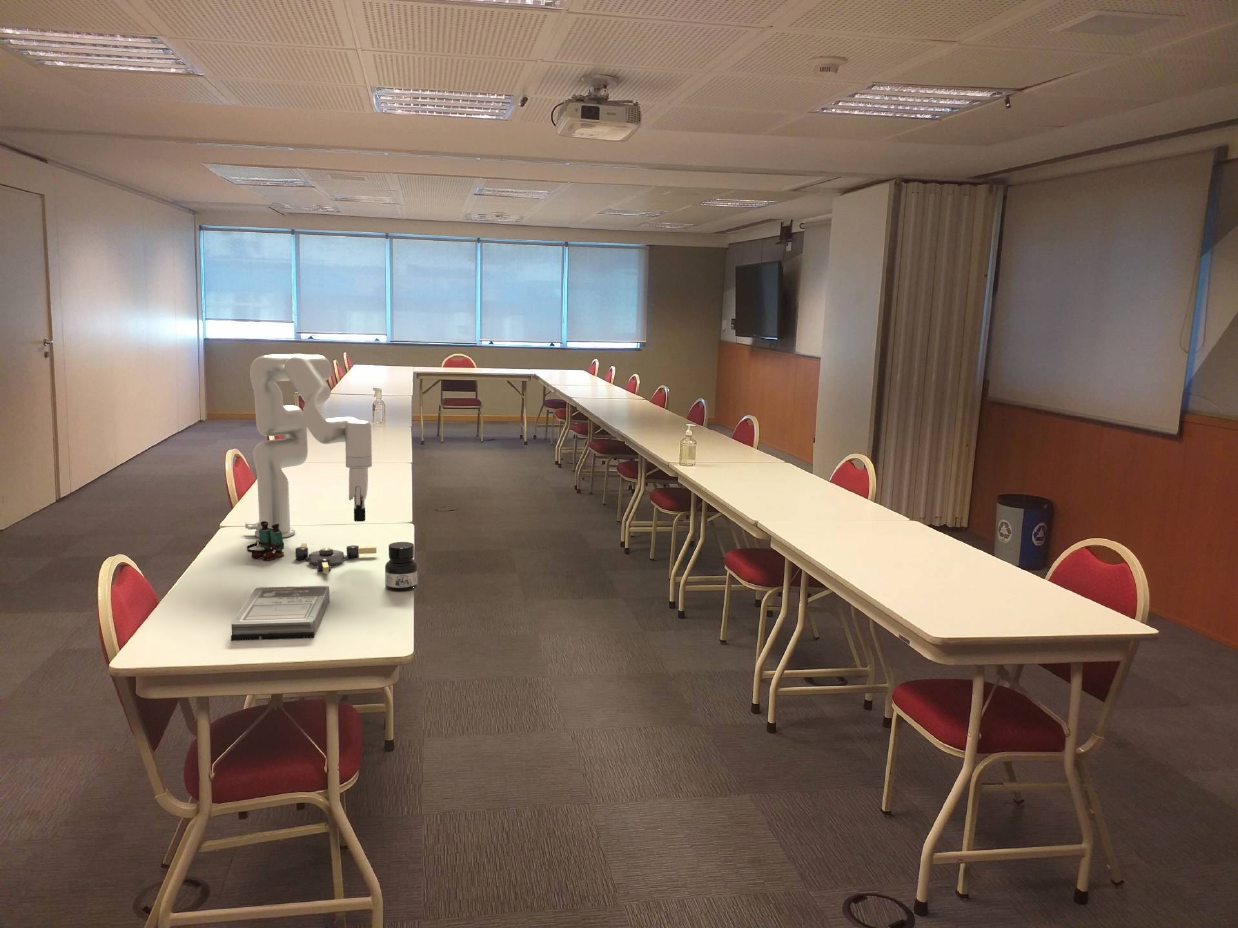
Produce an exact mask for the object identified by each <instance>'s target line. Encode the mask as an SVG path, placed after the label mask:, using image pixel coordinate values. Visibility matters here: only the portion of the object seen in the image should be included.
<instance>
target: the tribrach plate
mask: <svg viewBox="0 0 1238 928" xmlns="http://www.w3.org/2000/svg"><path fill="white" fill-rule="evenodd" d="M319 558H330V564H331V567H335V566H340V565H342V564H343V563H344V562H345V560H348V556H347V554H345V553H344V552H343V551H342V550H337V549H333V548H330V547H323V548H321V549H319V550H317V551H313V552H310V553H308V557H306V560H305V561H306V562H308V564H309V565H310V566H311V567H317V568H318V565H317V559H319Z"/></svg>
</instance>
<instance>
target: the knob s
mask: <svg viewBox="0 0 1238 928" xmlns="http://www.w3.org/2000/svg"><path fill="white" fill-rule="evenodd" d="M317 565H318V567H317V572H319V573H323V574H330V571H331V569H332V568H331V567H332V566H331V564H330V558H319V559H317Z"/></svg>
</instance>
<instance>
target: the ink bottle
mask: <svg viewBox="0 0 1238 928" xmlns="http://www.w3.org/2000/svg"><path fill="white" fill-rule="evenodd" d="M388 559H389V560H388V561H387V562H386V563H385V565H384V575H385V576H384V578H385V581H384V583H385V588H386V589H388V591H395V592H404V591H405V592H406V591H411V590H414V589H416V588H417V587H418V586H419V564H418V562H417V561H416V560H415V544H414V543H413V542H409V541H396V542H392V543H389V544H388ZM413 587H414V589H413Z"/></svg>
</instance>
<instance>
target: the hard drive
mask: <svg viewBox="0 0 1238 928" xmlns="http://www.w3.org/2000/svg"><path fill="white" fill-rule="evenodd" d="M330 597H331V596H330V586H329V585H316V586H315V585H314V586H313V585H309V586H308V585H307V586H269V587H267V586H265V587H264V586H263V587H261V586H260V587H256V588H255V589H254V590H253V591H252V592H251V594H250V596H249V597H248V599H247V600H246V601H245V602H244V604H243V605H242V607H241V608H240V610H239V611H238V612H237V614H236V615H235V617H234V618H233V619H232V620H231V623H230V624H231V635H230V641H232V642H234V641H235V642H238V641H239V642H240V641H242V642H243V641H259V640H260V641H262V640H264V641H267V640H269V641H270V640H271V641H272V640H295V639H297V640H298V639H300V640H301V639H315V636H316V635H317V632H318V629H319V627H320V624H321V623H322V621H323V618H324V616H325V613H326V611H327V609H328V607H329V604H330V601H331V600H330Z"/></svg>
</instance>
